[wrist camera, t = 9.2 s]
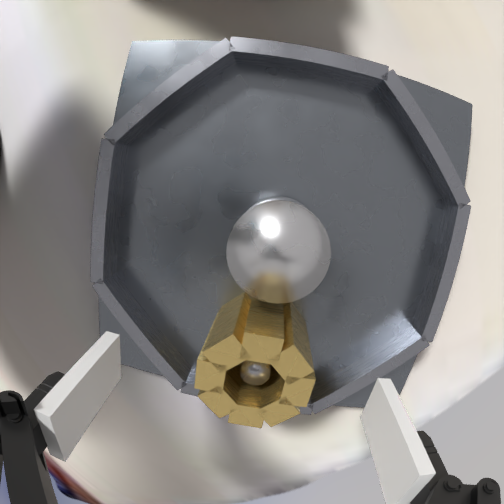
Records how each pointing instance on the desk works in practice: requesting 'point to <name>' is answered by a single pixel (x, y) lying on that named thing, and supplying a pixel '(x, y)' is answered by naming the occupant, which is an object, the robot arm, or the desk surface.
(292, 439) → the desk surface
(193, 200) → the tray
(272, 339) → the planet gear
